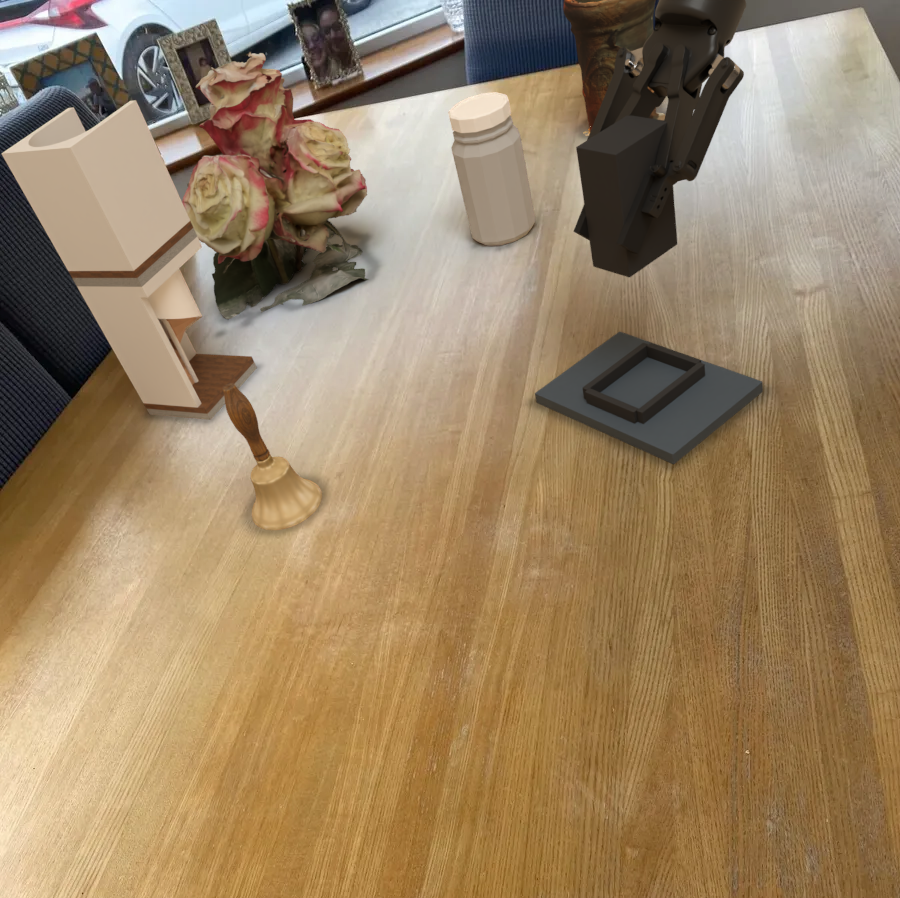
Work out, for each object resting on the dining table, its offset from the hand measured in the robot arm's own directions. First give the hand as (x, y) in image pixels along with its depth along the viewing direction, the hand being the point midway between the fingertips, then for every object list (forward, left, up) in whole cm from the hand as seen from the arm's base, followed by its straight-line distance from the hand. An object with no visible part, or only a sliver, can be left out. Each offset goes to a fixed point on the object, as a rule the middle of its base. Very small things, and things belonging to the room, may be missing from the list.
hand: (605, 242), depth 91 cm
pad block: (-2, -3, -3) cm, 5 cm away
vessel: (+17, -75, -18) cm, 79 cm away
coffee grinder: (+58, -1, -18) cm, 61 cm away
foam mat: (-2, 0, -18) cm, 18 cm away
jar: (+27, -40, -18) cm, 51 cm away
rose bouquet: (+57, -32, -18) cm, 67 cm away
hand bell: (+34, +20, -18) cm, 43 cm away
